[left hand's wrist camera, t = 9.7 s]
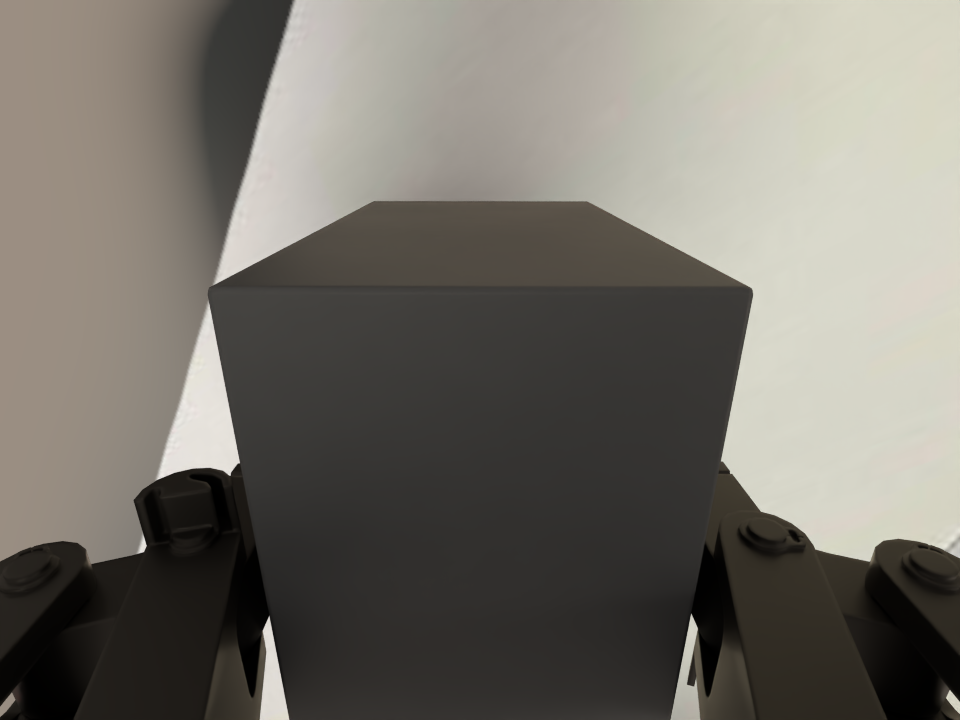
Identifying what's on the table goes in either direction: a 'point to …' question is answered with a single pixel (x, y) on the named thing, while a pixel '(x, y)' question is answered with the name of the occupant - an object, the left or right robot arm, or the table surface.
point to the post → (480, 457)
